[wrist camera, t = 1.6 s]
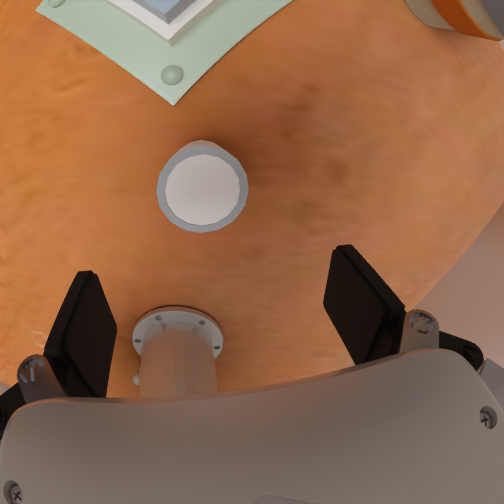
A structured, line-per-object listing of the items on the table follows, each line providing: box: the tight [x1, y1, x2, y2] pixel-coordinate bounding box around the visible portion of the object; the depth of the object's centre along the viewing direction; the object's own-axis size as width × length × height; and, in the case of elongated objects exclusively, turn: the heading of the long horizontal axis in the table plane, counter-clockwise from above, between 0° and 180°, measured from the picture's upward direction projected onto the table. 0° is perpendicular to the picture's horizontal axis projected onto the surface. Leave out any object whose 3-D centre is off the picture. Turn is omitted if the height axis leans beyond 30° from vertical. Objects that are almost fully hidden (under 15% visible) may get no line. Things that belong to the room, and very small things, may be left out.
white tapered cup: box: [156, 140, 249, 233], centre depth 23 cm, size 7×7×7 cm
